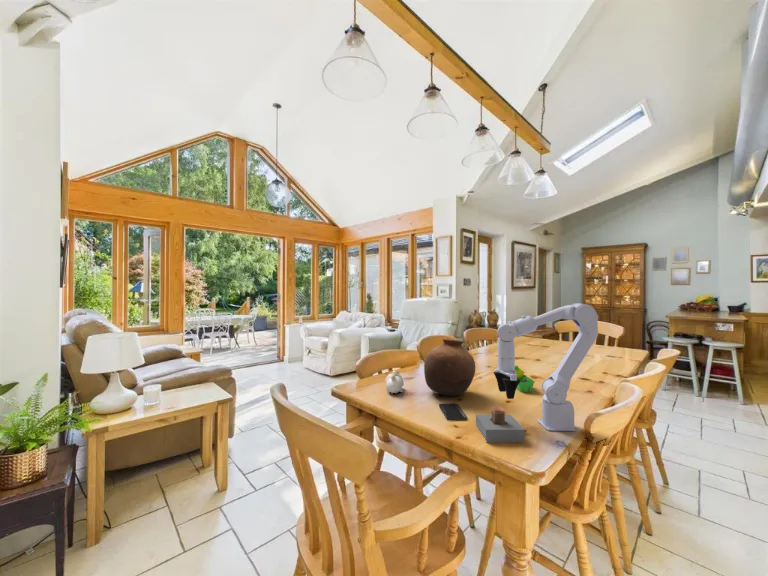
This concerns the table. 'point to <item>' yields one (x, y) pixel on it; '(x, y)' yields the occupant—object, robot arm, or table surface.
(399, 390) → the white rounded piece
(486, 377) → the table surface
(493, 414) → the peg
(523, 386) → the fruit basket
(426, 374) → the pottery
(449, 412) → the phone
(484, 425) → the socket block
